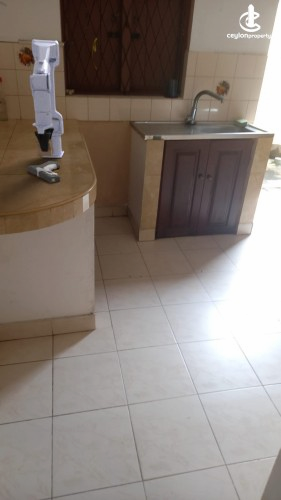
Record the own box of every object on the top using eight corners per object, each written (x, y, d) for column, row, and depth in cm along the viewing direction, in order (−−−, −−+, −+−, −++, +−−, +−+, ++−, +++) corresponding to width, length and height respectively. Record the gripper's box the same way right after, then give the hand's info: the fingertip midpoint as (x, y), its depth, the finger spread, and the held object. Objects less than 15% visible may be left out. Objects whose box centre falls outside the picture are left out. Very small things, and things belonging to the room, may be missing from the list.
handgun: (51, 160, 143) (25, 165, 136) (78, 171, 133) (51, 177, 125) (52, 166, 145) (25, 171, 137) (78, 177, 134) (51, 184, 126)
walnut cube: (40, 152, 135) (39, 139, 133) (53, 152, 136) (52, 139, 133) (37, 155, 131) (36, 142, 128) (51, 156, 131) (50, 142, 129)
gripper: (35, 107, 132) (39, 144, 138) (27, 114, 119) (31, 154, 126) (54, 108, 132) (57, 145, 139) (48, 115, 120) (51, 154, 126)
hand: (46, 149), depth 132 cm, fingers closed on walnut cube, 5 cm apart
